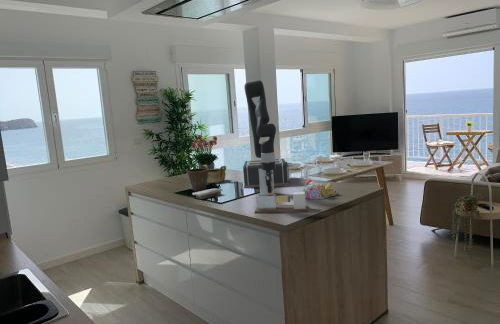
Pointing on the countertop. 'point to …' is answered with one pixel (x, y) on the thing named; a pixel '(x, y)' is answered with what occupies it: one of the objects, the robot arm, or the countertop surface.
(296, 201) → the socket
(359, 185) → the countertop surface
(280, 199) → the sliding latch bolt
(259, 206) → the sleeve
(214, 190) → the packaged product
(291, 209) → the base board
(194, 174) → the plant pot
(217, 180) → the woven basket
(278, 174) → the toaster
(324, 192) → the candy landscape model
